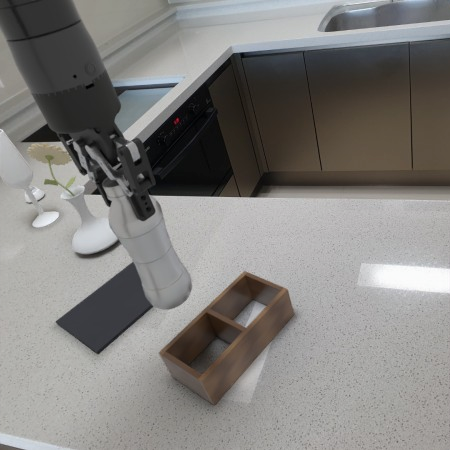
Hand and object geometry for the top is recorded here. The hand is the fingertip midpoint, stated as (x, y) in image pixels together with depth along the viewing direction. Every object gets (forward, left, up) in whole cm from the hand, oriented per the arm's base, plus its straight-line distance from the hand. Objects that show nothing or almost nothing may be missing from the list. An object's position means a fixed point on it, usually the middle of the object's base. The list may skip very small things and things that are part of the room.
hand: (131, 210), depth 56 cm
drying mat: (+1, +24, -29) cm, 38 cm away
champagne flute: (+9, +69, -29) cm, 75 cm away
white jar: (+13, +83, -29) cm, 89 cm away
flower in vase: (+10, +46, -29) cm, 55 cm away
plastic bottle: (0, 0, -16) cm, 16 cm away
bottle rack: (+5, -3, -29) cm, 30 cm away
